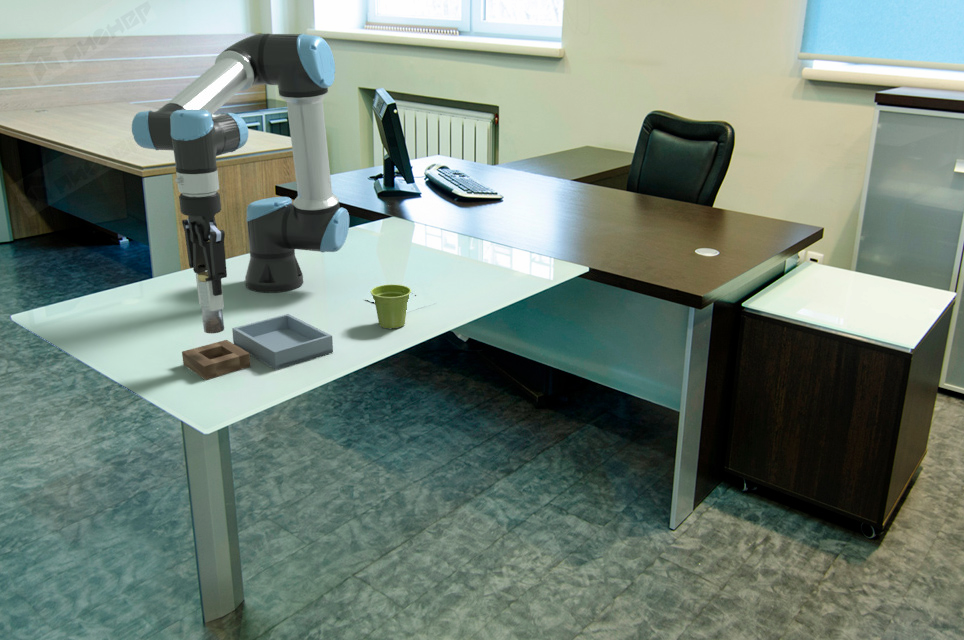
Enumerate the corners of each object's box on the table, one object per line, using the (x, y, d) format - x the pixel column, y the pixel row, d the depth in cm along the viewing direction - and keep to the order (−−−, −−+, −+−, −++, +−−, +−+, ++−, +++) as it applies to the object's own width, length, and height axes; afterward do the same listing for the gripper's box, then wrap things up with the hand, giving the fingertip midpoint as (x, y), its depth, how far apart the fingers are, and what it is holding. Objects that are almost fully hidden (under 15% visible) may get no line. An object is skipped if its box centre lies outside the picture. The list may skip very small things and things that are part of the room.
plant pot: (400, 334, 189) (399, 299, 186) (364, 328, 192) (363, 293, 189) (418, 321, 197) (417, 287, 194) (383, 316, 200) (382, 282, 197)
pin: (218, 324, 171) (212, 269, 166) (227, 330, 168) (222, 274, 164) (200, 329, 168) (194, 273, 164) (209, 335, 165) (203, 278, 161)
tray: (289, 329, 190) (288, 313, 189) (333, 352, 178) (332, 335, 177) (233, 345, 181) (232, 328, 180) (276, 370, 169) (274, 352, 168)
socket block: (227, 352, 177) (226, 339, 176) (250, 366, 170) (249, 353, 169) (183, 364, 171) (181, 351, 169) (205, 380, 164) (204, 366, 163)
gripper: (161, 188, 161) (175, 299, 169) (201, 203, 149) (214, 322, 158) (197, 183, 166) (209, 291, 174) (238, 197, 154) (249, 313, 163)
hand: (211, 306), depth 166 cm, fingers closed on pin, 4 cm apart
